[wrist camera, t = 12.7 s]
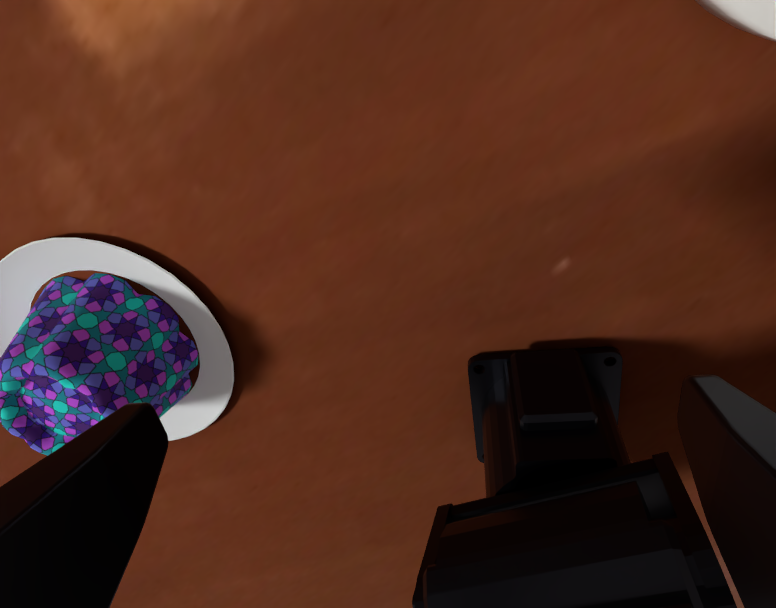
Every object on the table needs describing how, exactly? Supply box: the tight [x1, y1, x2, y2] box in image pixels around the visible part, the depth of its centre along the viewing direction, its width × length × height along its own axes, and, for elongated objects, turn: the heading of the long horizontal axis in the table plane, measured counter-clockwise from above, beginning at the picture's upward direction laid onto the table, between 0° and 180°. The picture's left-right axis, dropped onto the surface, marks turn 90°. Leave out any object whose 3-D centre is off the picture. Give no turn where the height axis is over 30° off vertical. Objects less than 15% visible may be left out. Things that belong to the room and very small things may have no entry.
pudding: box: [0, 238, 234, 455], centre depth 25 cm, size 12×12×5 cm
